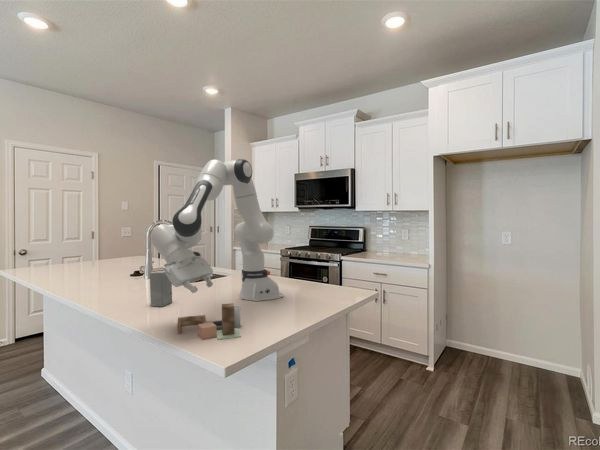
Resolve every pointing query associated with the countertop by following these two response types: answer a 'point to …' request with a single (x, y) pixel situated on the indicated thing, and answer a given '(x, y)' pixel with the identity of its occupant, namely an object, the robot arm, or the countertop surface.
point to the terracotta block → (207, 330)
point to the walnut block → (228, 319)
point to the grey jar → (237, 316)
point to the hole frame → (217, 324)
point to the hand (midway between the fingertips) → (203, 288)
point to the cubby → (190, 321)
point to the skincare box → (160, 289)
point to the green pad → (221, 336)
